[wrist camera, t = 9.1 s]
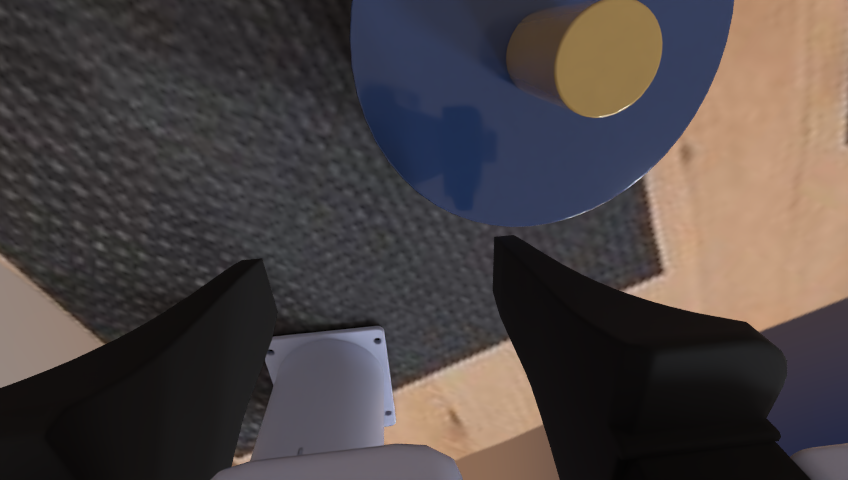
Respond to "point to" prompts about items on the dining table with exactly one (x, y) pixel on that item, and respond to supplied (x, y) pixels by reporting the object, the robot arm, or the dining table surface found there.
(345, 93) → the dining table surface
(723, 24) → the lid
